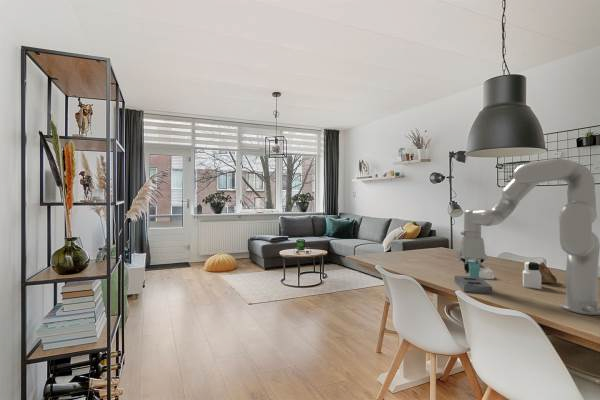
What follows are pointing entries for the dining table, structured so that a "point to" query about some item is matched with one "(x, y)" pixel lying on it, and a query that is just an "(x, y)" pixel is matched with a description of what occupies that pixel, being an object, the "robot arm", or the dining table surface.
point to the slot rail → (473, 284)
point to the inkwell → (484, 271)
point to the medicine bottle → (532, 275)
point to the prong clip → (473, 268)
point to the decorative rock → (546, 274)
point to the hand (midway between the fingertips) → (471, 271)
